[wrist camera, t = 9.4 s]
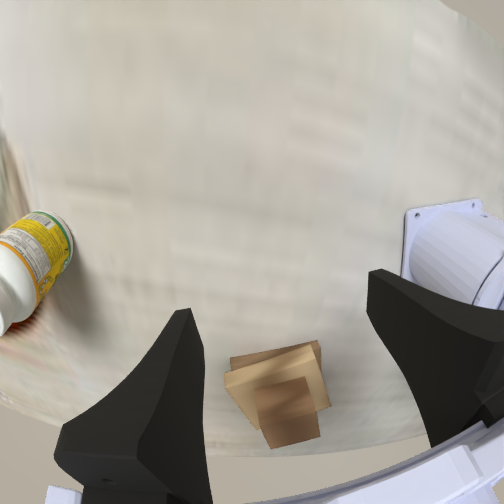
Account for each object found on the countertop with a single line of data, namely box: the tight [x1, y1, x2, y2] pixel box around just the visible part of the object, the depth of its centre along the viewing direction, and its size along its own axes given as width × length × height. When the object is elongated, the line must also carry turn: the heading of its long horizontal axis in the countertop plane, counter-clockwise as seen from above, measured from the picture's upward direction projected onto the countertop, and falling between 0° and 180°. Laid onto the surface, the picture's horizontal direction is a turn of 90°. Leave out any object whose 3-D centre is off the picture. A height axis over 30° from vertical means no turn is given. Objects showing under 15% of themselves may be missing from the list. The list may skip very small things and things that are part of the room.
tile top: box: [224, 345, 331, 430], centre depth 26 cm, size 8×8×2 cm
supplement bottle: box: [0, 210, 73, 337], centre depth 15 cm, size 5×5×10 cm
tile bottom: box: [230, 340, 321, 373], centre depth 28 cm, size 8×8×2 cm
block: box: [254, 376, 320, 449], centre depth 24 cm, size 4×4×4 cm
